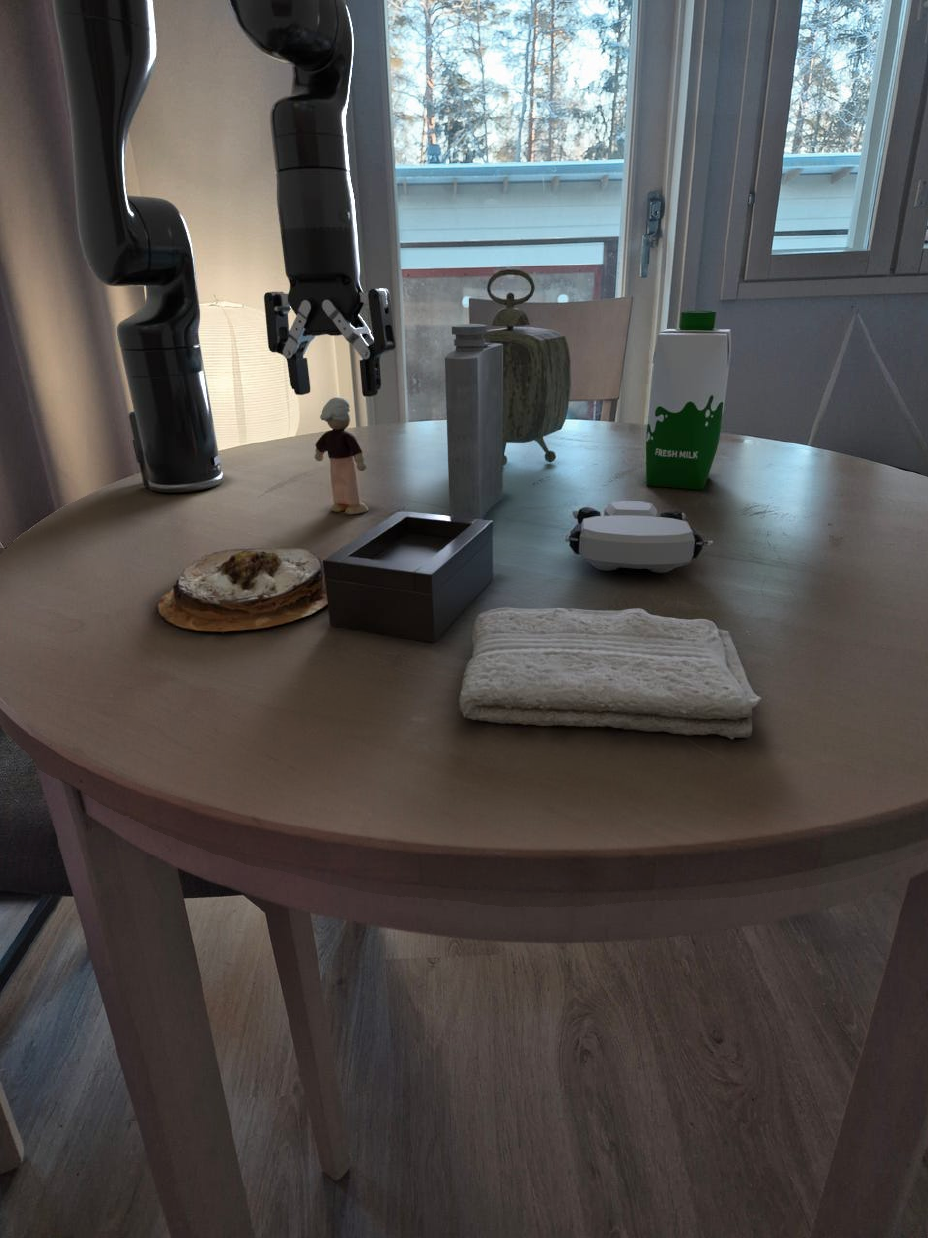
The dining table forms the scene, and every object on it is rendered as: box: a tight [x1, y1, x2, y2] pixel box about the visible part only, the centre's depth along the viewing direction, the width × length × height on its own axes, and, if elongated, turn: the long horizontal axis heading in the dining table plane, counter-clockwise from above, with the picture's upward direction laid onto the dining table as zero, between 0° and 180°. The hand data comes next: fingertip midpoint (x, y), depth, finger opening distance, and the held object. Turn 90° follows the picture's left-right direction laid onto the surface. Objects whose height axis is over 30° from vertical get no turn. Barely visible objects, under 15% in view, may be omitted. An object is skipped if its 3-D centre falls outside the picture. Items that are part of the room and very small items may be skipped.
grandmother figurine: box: [314, 396, 369, 515], centre depth 81 cm, size 8×4×13 cm, turn 65°
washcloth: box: [458, 606, 763, 740], centre depth 47 cm, size 12×18×3 cm, turn 84°
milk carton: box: [645, 310, 732, 491], centre depth 88 cm, size 9×9×20 cm
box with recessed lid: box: [322, 510, 494, 644], centre depth 59 cm, size 9×13×6 cm
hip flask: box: [444, 323, 504, 520], centre depth 77 cm, size 16×4×20 cm, turn 167°
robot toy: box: [565, 500, 714, 574], centre depth 67 cm, size 12×4×15 cm
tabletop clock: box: [483, 268, 572, 467], centre depth 97 cm, size 14×9×25 cm, turn 58°
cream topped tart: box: [157, 546, 328, 632], centre depth 61 cm, size 15×15×4 cm
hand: (335, 394), depth 78 cm, fingers open, 8 cm apart
